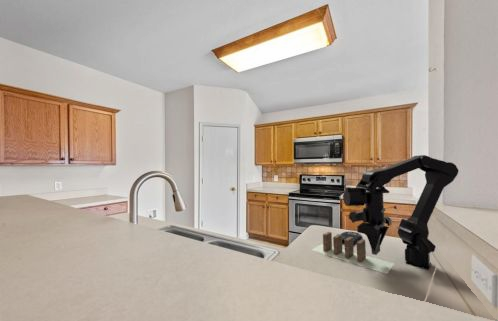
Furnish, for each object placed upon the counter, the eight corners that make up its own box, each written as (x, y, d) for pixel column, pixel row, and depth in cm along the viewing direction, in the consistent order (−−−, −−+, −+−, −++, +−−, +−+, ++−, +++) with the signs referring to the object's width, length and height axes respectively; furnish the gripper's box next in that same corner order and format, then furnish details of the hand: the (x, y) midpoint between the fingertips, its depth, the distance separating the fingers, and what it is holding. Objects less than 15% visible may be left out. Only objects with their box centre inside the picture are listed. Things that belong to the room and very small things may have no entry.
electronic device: (355, 251, 92) (365, 237, 103) (353, 238, 92) (362, 226, 103) (335, 248, 99) (346, 235, 109) (332, 236, 99) (343, 225, 109)
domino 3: (353, 254, 84) (353, 237, 84) (348, 258, 80) (348, 240, 80) (350, 253, 85) (349, 236, 85) (345, 257, 81) (344, 239, 81)
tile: (380, 250, 77) (379, 231, 77) (376, 255, 73) (375, 235, 74) (376, 249, 78) (375, 231, 78) (371, 253, 74) (370, 234, 75)
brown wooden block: (365, 258, 80) (365, 240, 81) (361, 262, 77) (360, 243, 77) (362, 257, 81) (361, 239, 82) (357, 261, 78) (356, 242, 78)
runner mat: (394, 264, 76) (394, 263, 76) (387, 275, 69) (387, 273, 69) (322, 244, 96) (322, 243, 96) (311, 250, 89) (311, 249, 89)
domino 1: (332, 248, 90) (331, 232, 90) (326, 252, 87) (326, 235, 87) (328, 247, 91) (328, 231, 91) (323, 251, 88) (322, 234, 88)
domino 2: (342, 251, 87) (341, 234, 87) (337, 255, 84) (336, 237, 84) (339, 250, 88) (338, 234, 88) (333, 254, 85) (333, 236, 85)
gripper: (360, 199, 88) (361, 236, 88) (341, 206, 76) (342, 249, 75) (391, 202, 80) (392, 243, 80) (375, 210, 67) (377, 259, 67)
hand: (376, 248), depth 76 cm, fingers closed on tile, 5 cm apart
